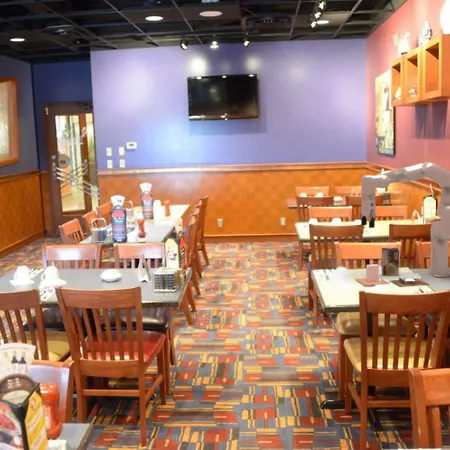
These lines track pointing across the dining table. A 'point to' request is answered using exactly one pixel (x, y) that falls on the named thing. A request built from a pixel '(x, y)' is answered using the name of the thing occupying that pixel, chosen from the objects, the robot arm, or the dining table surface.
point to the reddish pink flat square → (368, 284)
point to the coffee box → (390, 262)
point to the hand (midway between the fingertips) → (367, 226)
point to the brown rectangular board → (408, 282)
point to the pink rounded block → (372, 273)
